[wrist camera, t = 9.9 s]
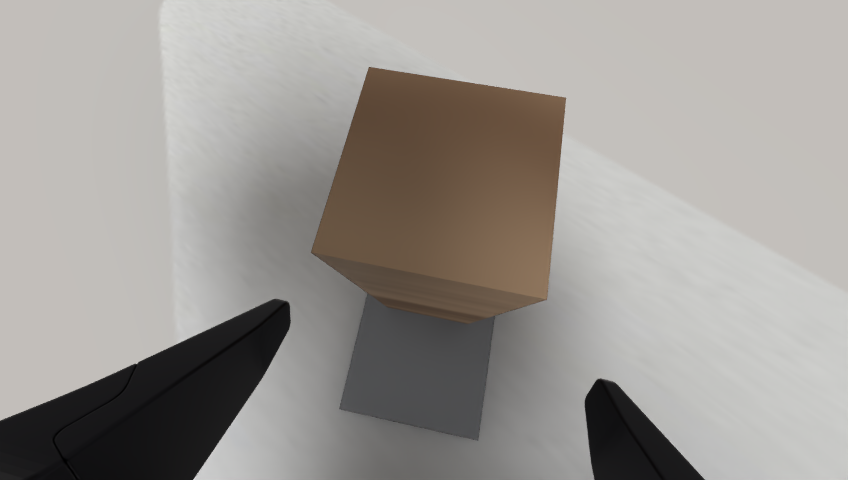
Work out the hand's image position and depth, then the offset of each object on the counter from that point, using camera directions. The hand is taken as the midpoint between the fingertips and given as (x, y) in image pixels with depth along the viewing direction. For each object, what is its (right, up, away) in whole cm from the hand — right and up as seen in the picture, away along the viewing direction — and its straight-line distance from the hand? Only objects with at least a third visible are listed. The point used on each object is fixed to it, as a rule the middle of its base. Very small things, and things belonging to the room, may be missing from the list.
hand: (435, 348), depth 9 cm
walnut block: (0, +1, +9) cm, 9 cm away
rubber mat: (0, -1, +9) cm, 9 cm away
